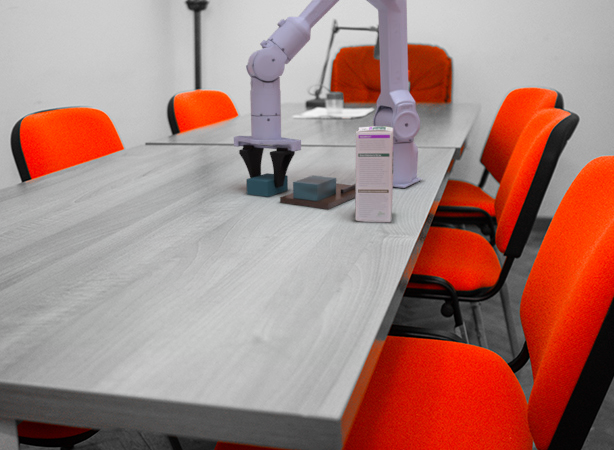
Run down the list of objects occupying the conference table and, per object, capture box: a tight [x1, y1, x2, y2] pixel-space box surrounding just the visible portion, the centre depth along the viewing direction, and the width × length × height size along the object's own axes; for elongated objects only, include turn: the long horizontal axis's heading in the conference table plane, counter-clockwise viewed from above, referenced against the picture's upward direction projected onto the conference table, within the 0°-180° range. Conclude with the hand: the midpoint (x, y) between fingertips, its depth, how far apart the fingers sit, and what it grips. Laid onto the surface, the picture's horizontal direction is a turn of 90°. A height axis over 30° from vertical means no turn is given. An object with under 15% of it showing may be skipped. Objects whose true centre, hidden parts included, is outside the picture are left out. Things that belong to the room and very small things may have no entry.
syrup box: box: [354, 125, 394, 223], centre depth 91 cm, size 6×6×14 cm
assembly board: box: [279, 175, 356, 210], centre depth 107 cm, size 16×10×4 cm, turn 145°
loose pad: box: [246, 172, 289, 198], centre depth 112 cm, size 7×5×3 cm
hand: (267, 185), depth 112 cm, fingers closed on loose pad, 5 cm apart
